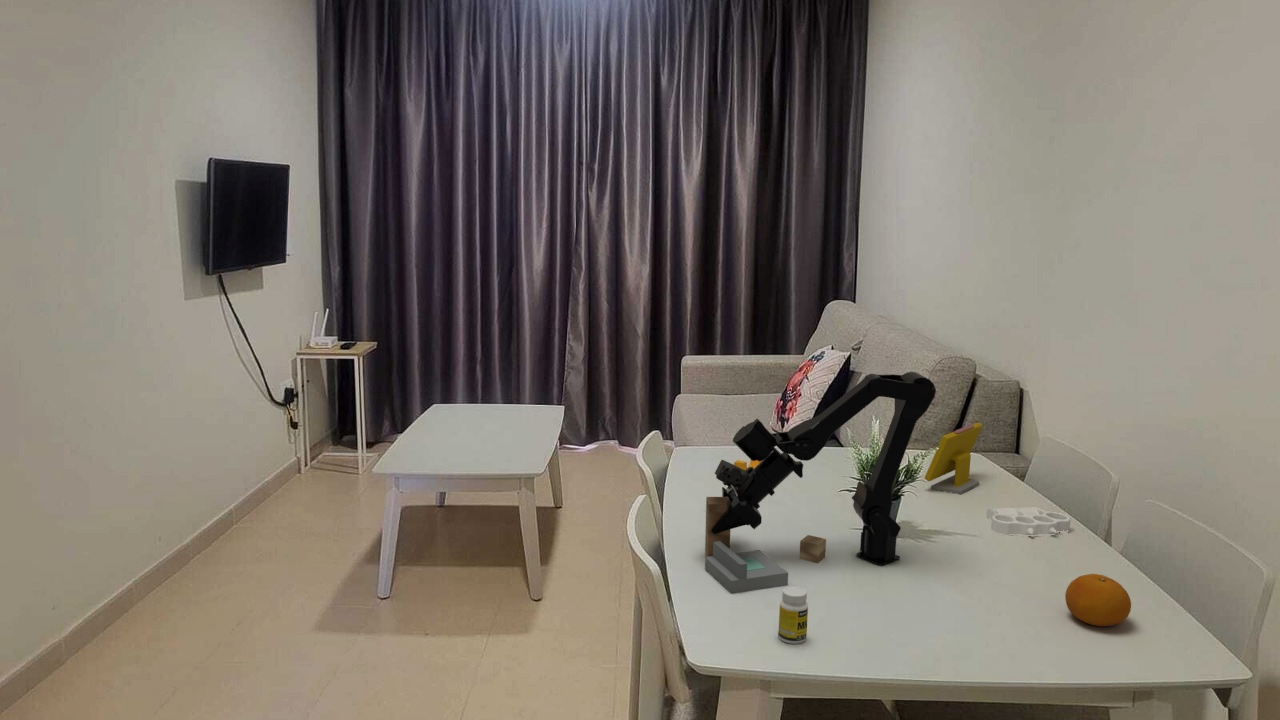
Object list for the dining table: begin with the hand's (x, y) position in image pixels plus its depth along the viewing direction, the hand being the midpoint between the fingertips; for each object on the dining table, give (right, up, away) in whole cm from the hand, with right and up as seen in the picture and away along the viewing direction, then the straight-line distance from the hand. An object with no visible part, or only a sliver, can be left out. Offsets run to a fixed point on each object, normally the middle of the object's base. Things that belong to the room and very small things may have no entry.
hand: (711, 528), depth 189 cm
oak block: (+21, -7, +2) cm, 22 cm away
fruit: (+67, -12, -24) cm, 72 cm away
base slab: (+6, -8, -8) cm, 13 cm away
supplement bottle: (+11, -13, -32) cm, 36 cm away
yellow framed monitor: (+67, +1, +50) cm, 84 cm away
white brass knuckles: (+73, -4, +22) cm, 77 cm away
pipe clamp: (+15, +2, +53) cm, 55 cm away
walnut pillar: (+1, -7, +1) cm, 7 cm away
